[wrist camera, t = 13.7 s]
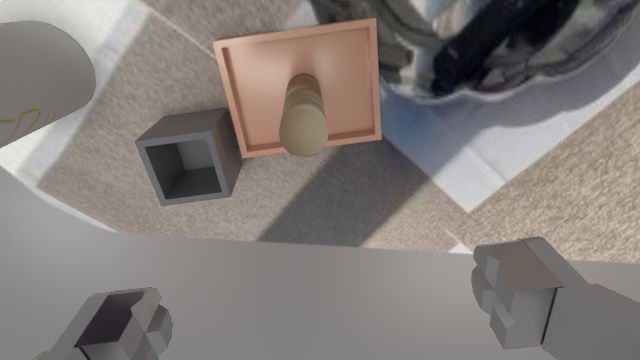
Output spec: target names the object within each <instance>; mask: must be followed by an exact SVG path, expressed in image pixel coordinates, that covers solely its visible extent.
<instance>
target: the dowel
mask: <svg viewBox="0 0 640 360" xmlns="http://www.w3.org/2000/svg"><path fill="white" fill-rule="evenodd" d="M279 139H280V142H281V144H282V146H283V147H284V148H285V149H286V150H287V151H288V152H289V153H291V154H293V155H295V156H299V157H308V156H312V155H314V154H316V153H318V152H319V151H321V150H322V148H323V147H324V146H325V144H326V142H327V139H328V128H327V123H326V117H325V112H324V106H323V100H322V95H321V89H320V85H319V82H318V81H317V79H316V78H315V77H313V76H312V75H310V74H306V73H301V74H297V75H295V76H294V77H293V78H291V80H290V81H289V83H288V86H287V91H286V96H285V102H284V107H283V112H282V117H281V123H280V128H279Z"/></svg>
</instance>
